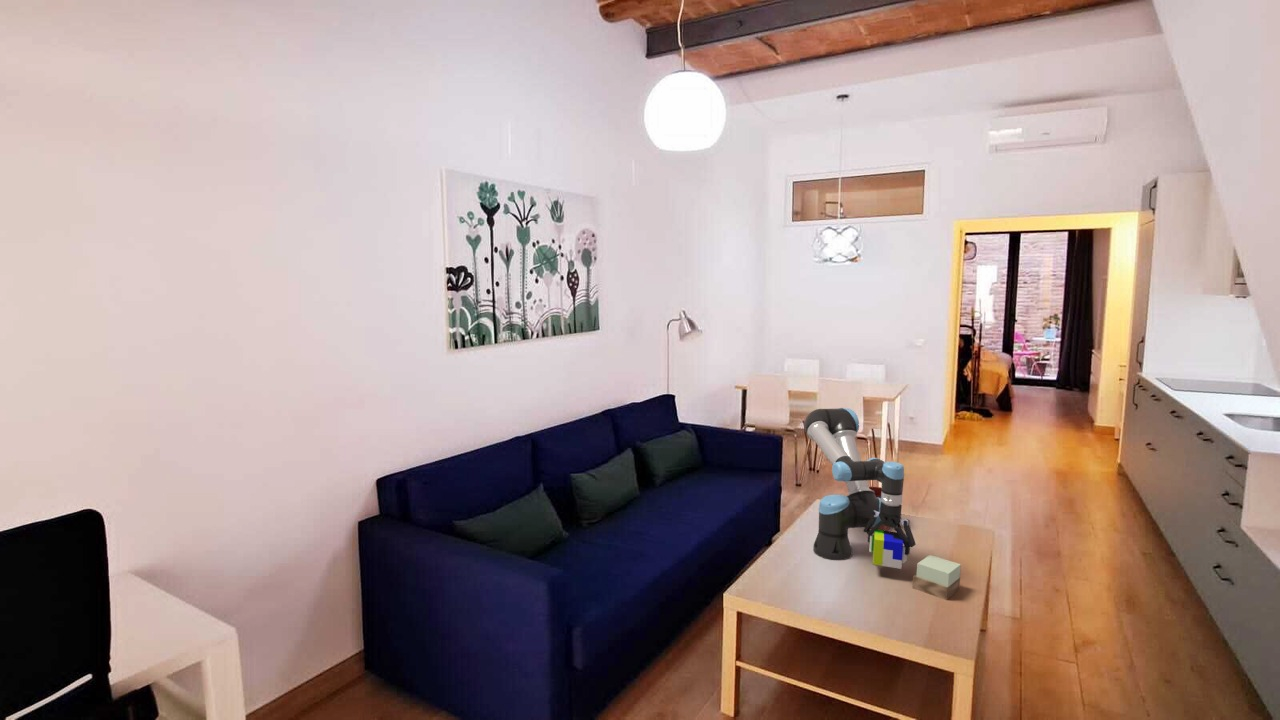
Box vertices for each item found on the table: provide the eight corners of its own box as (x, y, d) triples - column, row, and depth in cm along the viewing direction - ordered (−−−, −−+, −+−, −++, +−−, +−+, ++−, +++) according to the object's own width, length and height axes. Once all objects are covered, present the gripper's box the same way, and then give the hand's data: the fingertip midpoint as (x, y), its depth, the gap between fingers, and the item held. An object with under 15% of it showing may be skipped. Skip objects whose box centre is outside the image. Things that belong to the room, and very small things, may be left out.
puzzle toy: (901, 568, 235) (903, 543, 234) (872, 564, 239) (874, 539, 237) (900, 557, 245) (902, 533, 243) (873, 553, 248) (874, 529, 247)
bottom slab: (912, 589, 230) (913, 576, 230) (925, 579, 239) (926, 566, 238) (946, 601, 222) (947, 587, 221) (959, 590, 230) (960, 576, 229)
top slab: (916, 576, 230) (917, 563, 229) (929, 567, 237) (929, 554, 236) (947, 587, 222) (948, 573, 221) (959, 577, 229) (960, 564, 228)
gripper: (856, 496, 246) (853, 549, 249) (919, 514, 229) (915, 570, 232) (865, 492, 251) (862, 543, 254) (927, 509, 234) (923, 564, 237)
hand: (887, 556), depth 243 cm, fingers closed on puzzle toy, 12 cm apart
